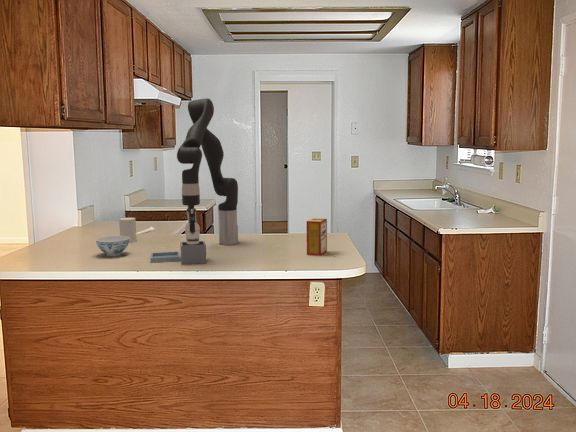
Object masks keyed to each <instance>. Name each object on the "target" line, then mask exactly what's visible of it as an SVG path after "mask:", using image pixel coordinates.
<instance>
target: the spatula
mask: <svg viewBox="0 0 576 432" xmlns="http://www.w3.org/2000/svg"><path fill="white" fill-rule="evenodd" d="M155 231H156V228H155V227H153V226H150V227H149V228H147V229H143V230H141V231H138V232H136V237H137V236H139V235H144V234H146V233H151V232H152V233H153V232H155Z"/></svg>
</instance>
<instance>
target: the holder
mask: <svg viewBox="0 0 576 432" xmlns="http://www.w3.org/2000/svg"><path fill="white" fill-rule="evenodd" d="M179 243H180V247H179V248H180V262H181V265H196V264H207V244H206V241H205V240H199V245H188V246H187V241H179Z"/></svg>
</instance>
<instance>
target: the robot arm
mask: <svg viewBox="0 0 576 432" xmlns="http://www.w3.org/2000/svg"><path fill="white" fill-rule="evenodd" d="M187 110H188V114H189V117H190V120H191V122H192V125H191V126H190V127H189V129H188V130H187V133H186V137H185V140H184V141H183V143H182V144H181V145H180V146H179V147H178V149H177V152H176V159H177V161H178V162H179V163H180V164H182V165H183V164H184V165H185V164H186V165H191V164H192V167H191V168H186V169H183V170H182V172H181V182H182V184H181V195H182V196H181V201H182V202H181V203H182V205H183V206H185V207H186V206H187V208H186V217H187V221H188V220H189V224H190V233H194V232H195V222H197V220H196V221H195V219H197V215H196V214H197V208H195V206H199V205H200V204H201V199H200V197H201V196H200V195H201V193H200V192H201V191H200V184H199V183H200V181H199V179H200V177H199V176H200V174H199V173H200V166H201V162H202V158H203V155H204V158H205V160H206V162H207V166H208V170H209V173H210V177H211V181H212V186H213V190H214V192H215V194H216V195H217V196H220V197H225V200H224V201H223V202H221V203H219V204H218V207H217V208H218V209H217V210H218V212H217V213H218V243H219V245H222V246H230V245H237V244H238V245H239V226H238V199H239V186H238V185H239V184H238V181H237V179H235V178H234V177H224V176H223V174H222V170H221V167H222V163H223V160H224V154H225V153H224V149H223V147H222V142H221V140H220V139H219V138H218V137H217V136H216V135H215V134H214V133H212V132H211V131H210V130H209V129H208V126H209V125H210V122H211V121H212V119H213V117H214V112H215V107H214V103H213V101H212V100H211V98H205V97H204V98H200V99H194V100H190V101H188V104H187ZM201 149H202V150H201ZM191 219H193V220H191Z"/></svg>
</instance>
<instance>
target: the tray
mask: <svg viewBox="0 0 576 432" xmlns="http://www.w3.org/2000/svg"><path fill="white" fill-rule="evenodd" d="M169 262H170V263H171V262H173V263H174V262H181V252H180V251H164V252H163V251H161V252H160V251H159V252H151V253H150V263H151V264H152V263H153V264H155V263H169Z"/></svg>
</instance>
